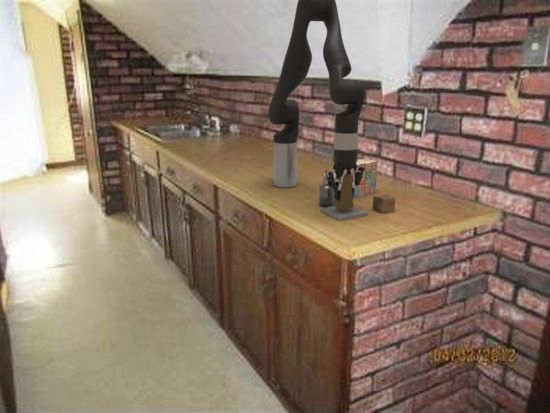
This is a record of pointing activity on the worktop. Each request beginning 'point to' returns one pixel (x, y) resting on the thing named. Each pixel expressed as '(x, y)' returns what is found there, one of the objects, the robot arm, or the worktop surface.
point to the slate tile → (343, 213)
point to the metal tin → (326, 196)
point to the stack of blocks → (363, 178)
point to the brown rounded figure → (345, 193)
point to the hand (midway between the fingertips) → (344, 199)
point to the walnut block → (383, 203)
